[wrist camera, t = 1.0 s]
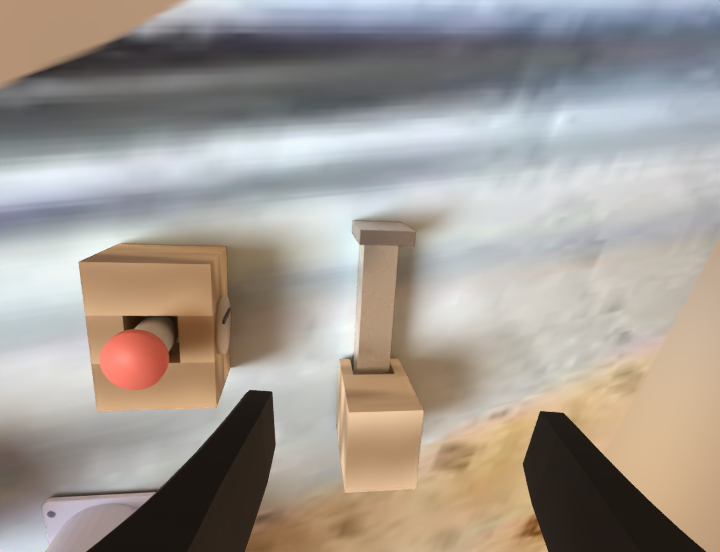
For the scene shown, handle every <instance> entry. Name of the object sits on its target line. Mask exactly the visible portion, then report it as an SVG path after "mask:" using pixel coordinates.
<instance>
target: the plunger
mask: <svg viewBox="0 0 720 552" xmlns="http://www.w3.org/2000/svg"><path fill="white" fill-rule="evenodd" d="M177 338H178V328H177V325H176V324H175V322H174V321H173V320H172V319H170V318H169V317H167V316H148V317H146V318H145V319H143V320H142V321H141V322H140V323H139V324H138V325H137V326H136V327H135V328H134V329H130V330H125V331H122V332H120V333H118V334H116V335H115V336H114V337H112V338H111V339H110V340H109V341H108V342H107V343H106V344H105V345H104V347H103V348H102V351H101V354H100V367H101V369H102V372H103V374H104V375H105V376H106V378H107V379H108V380H109V381H111V382H112V383H113V384H115V385H116V386H118V387H121V388H124V389H128V390H142V389H146V388H149V387H151V386H153V385H154V384H156V383H157V382H158V381H159V380H160V379H161V378H162V376H163V375H164V373H165V372H166V370H167V368H168V365H169V353H168V352H169V351H170V349H171V348H172V346H173V345H174V343H175V342H176V340H177Z"/></svg>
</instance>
